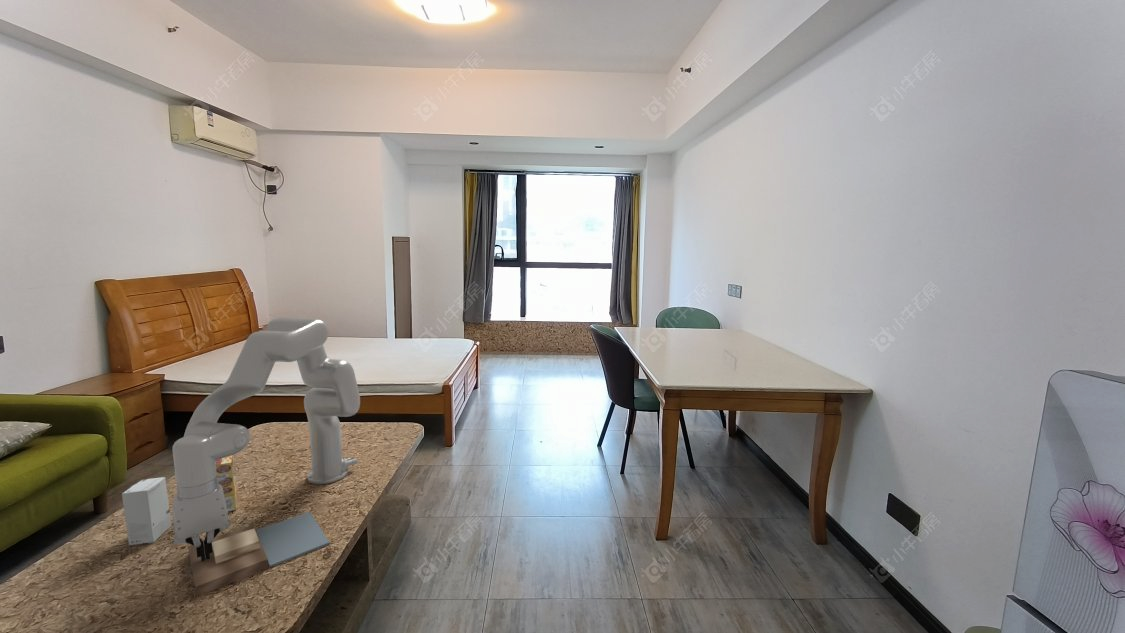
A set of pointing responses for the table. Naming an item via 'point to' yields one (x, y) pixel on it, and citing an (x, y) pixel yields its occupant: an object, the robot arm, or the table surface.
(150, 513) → the skincare box
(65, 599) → the table surface
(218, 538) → the block
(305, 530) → the mat
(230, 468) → the candy box
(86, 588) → the table surface
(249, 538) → the tile
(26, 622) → the table surface
